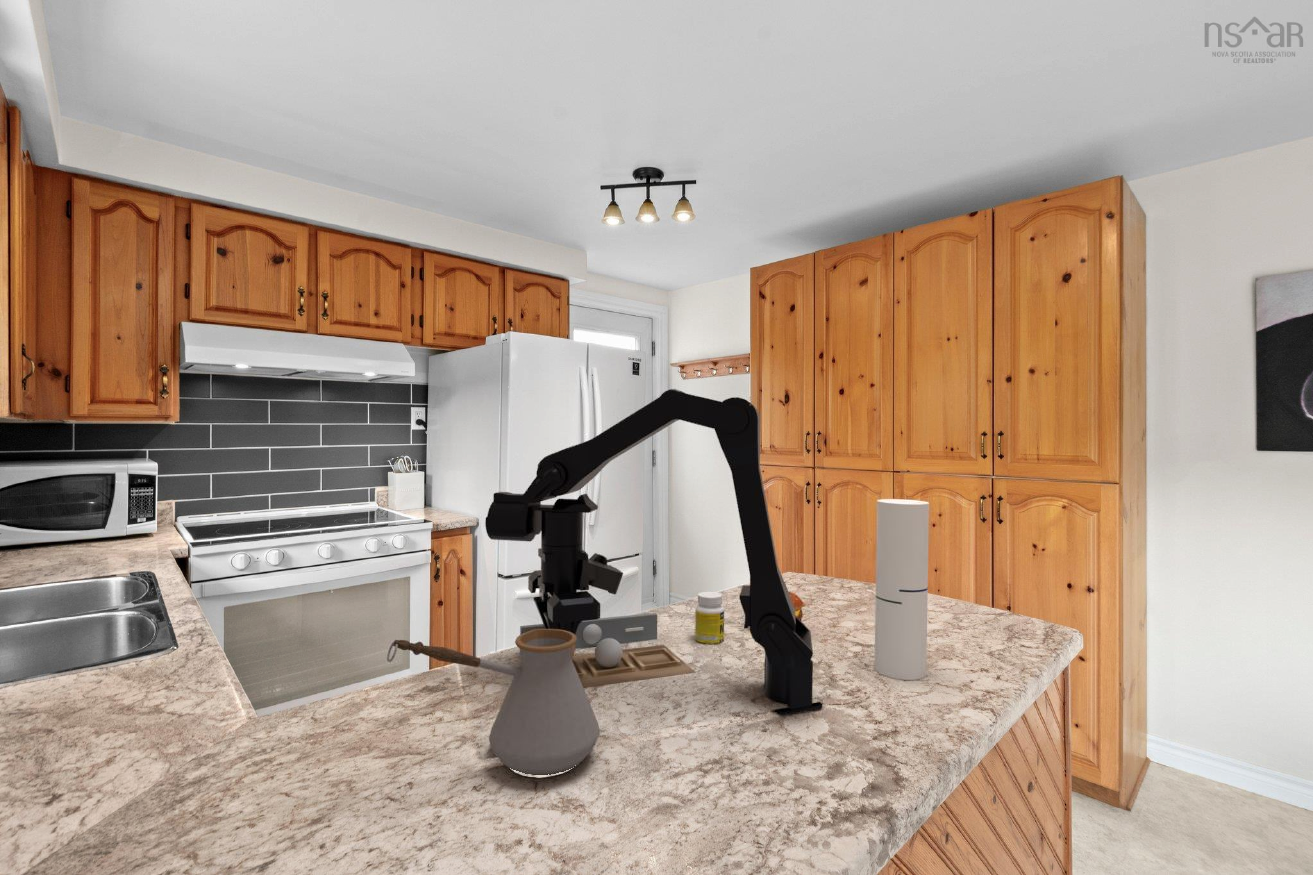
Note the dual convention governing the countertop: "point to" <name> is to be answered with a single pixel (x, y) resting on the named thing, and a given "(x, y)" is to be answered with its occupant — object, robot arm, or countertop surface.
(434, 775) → the countertop surface
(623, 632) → the card
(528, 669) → the coffee pot
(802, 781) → the countertop surface
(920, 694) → the countertop surface
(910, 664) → the cylindrical container
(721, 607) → the supplement bottle
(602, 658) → the grey ball
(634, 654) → the rack
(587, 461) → the robot arm
